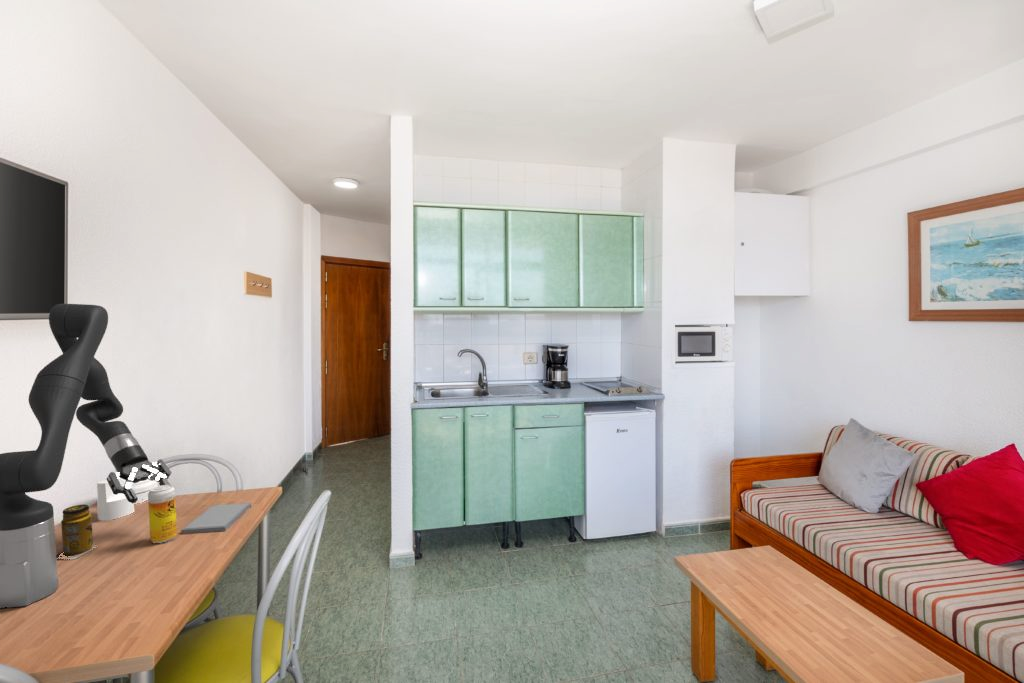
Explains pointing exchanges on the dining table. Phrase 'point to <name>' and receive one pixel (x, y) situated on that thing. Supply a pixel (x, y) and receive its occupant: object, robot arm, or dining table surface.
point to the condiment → (76, 531)
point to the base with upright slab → (112, 502)
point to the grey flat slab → (216, 518)
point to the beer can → (162, 513)
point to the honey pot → (143, 489)
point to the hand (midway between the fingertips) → (152, 495)
